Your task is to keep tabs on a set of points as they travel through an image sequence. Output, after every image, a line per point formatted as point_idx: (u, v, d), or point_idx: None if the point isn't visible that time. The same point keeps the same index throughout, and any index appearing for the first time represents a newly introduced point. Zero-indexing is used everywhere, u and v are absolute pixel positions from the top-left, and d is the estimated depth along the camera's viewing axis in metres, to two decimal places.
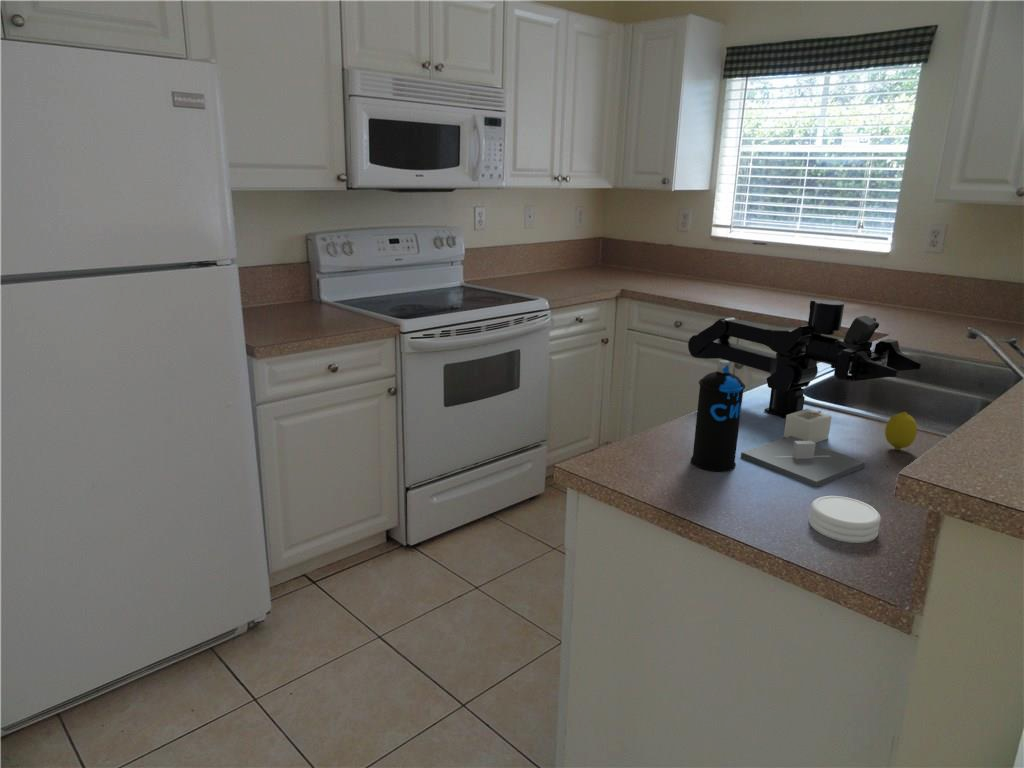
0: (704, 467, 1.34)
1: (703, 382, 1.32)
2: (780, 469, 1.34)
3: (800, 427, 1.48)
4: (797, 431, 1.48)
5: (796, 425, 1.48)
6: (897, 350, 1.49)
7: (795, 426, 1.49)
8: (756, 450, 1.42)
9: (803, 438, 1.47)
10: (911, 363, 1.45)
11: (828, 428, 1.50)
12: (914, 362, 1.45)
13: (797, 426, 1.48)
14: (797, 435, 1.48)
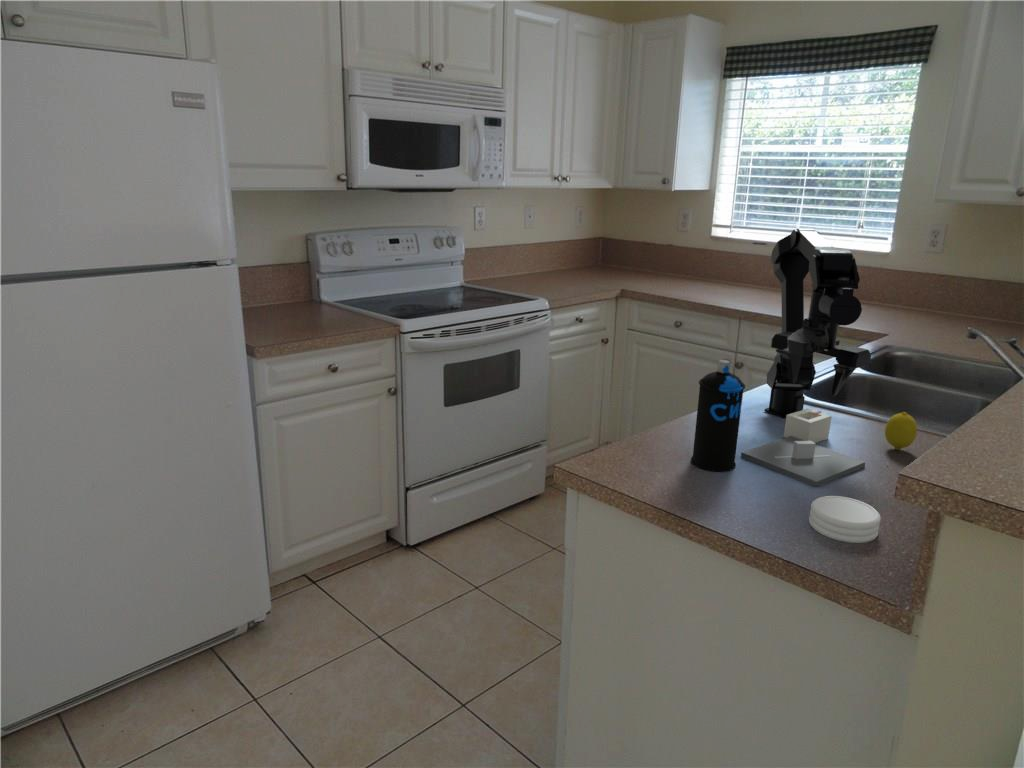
0: (704, 467, 1.34)
1: (703, 382, 1.32)
2: (780, 469, 1.34)
3: (800, 427, 1.48)
4: (797, 431, 1.48)
5: (796, 425, 1.48)
6: (838, 371, 1.41)
7: (795, 426, 1.49)
8: (756, 450, 1.42)
9: (803, 438, 1.47)
10: None
11: (828, 428, 1.50)
12: None
13: (797, 426, 1.48)
14: (797, 435, 1.48)
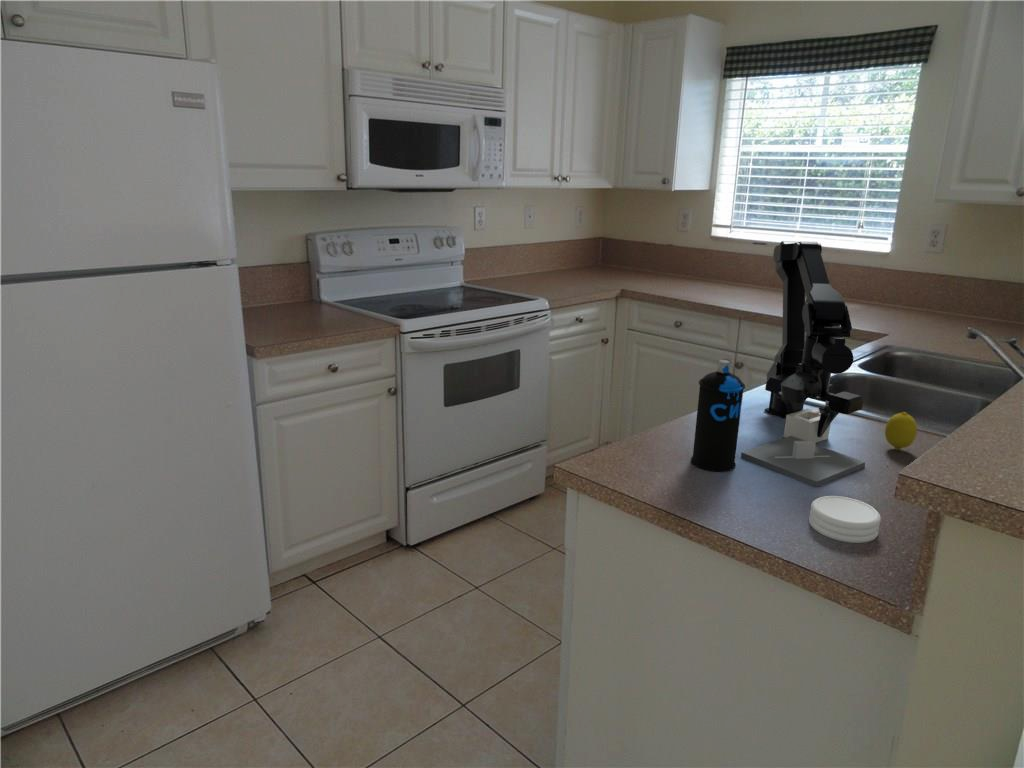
0: (704, 467, 1.34)
1: (703, 382, 1.32)
2: (780, 469, 1.34)
3: (800, 427, 1.48)
4: (797, 431, 1.48)
5: (796, 425, 1.48)
6: (823, 414, 1.45)
7: (795, 426, 1.49)
8: (756, 450, 1.42)
9: (803, 438, 1.47)
10: None
11: (828, 428, 1.50)
12: None
13: (797, 426, 1.48)
14: (797, 435, 1.48)
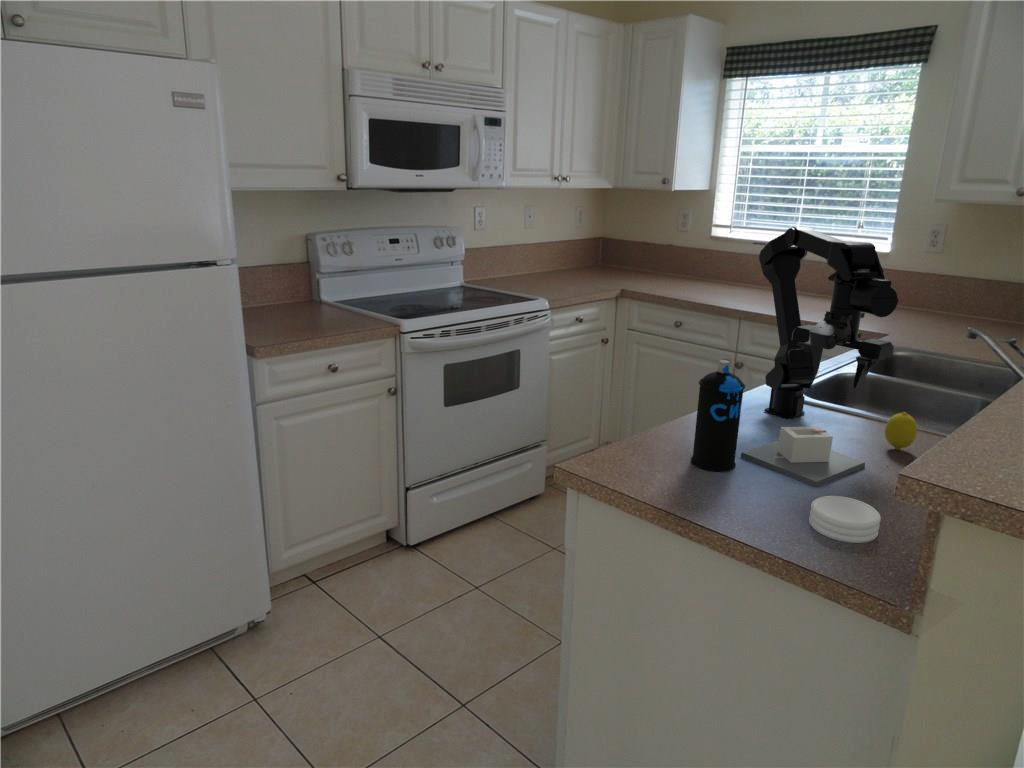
0: (704, 467, 1.34)
1: (703, 382, 1.32)
2: (780, 469, 1.34)
3: (788, 442, 1.37)
4: (786, 446, 1.38)
5: (785, 439, 1.38)
6: (861, 363, 1.41)
7: (785, 440, 1.38)
8: (756, 450, 1.42)
9: (789, 454, 1.36)
10: None
11: (828, 450, 1.36)
12: None
13: (786, 440, 1.37)
14: (785, 450, 1.38)
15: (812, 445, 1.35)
